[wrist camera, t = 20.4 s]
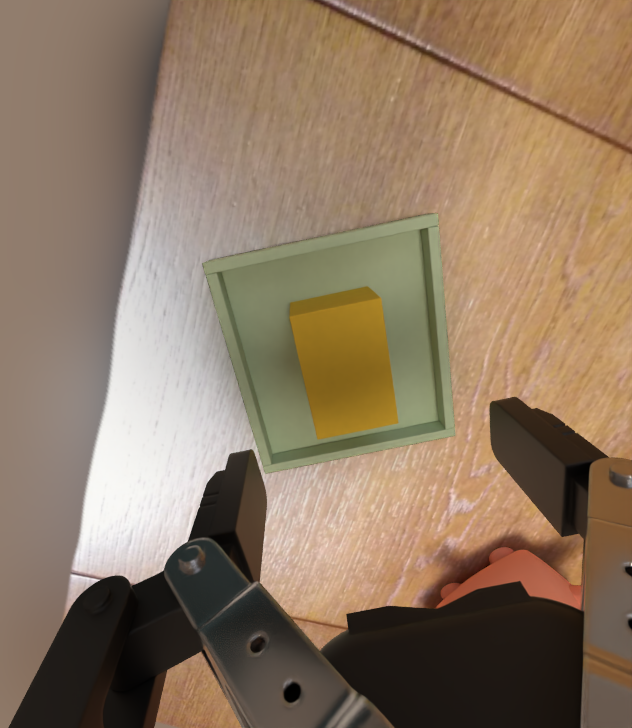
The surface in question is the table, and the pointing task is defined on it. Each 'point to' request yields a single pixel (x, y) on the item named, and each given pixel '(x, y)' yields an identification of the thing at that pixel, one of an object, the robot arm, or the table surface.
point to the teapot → (517, 578)
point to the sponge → (345, 361)
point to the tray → (322, 277)
